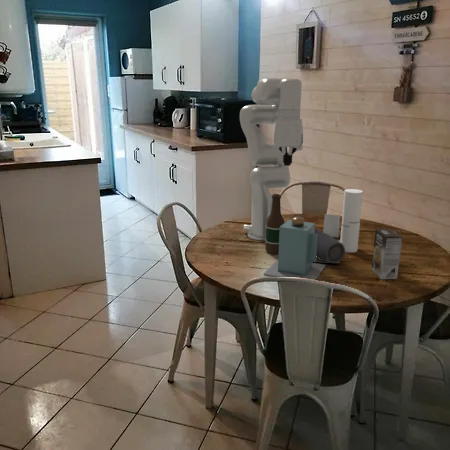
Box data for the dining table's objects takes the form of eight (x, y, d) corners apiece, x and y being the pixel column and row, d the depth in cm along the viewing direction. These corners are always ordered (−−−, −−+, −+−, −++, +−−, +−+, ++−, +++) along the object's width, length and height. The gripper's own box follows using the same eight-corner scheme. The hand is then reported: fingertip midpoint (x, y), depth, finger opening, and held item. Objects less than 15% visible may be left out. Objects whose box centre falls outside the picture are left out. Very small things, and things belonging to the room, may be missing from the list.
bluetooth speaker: (295, 248, 194) (296, 225, 191) (314, 245, 197) (316, 223, 194) (324, 267, 173) (326, 242, 170) (345, 264, 176) (347, 239, 173)
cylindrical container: (357, 252, 188) (363, 193, 181) (340, 251, 190) (344, 192, 182) (356, 247, 195) (362, 189, 188) (339, 245, 196) (344, 188, 189)
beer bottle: (271, 255, 185) (273, 197, 178) (261, 249, 191) (262, 193, 184) (287, 252, 188) (290, 195, 181) (276, 247, 195) (279, 191, 188)
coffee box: (370, 269, 171) (374, 228, 167) (387, 269, 172) (391, 228, 167) (380, 279, 163) (385, 236, 158) (398, 279, 163) (403, 235, 158)
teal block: (263, 274, 166) (265, 228, 161) (280, 258, 182) (281, 215, 177) (312, 284, 159) (315, 235, 154) (325, 266, 174) (328, 221, 169)
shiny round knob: (283, 261, 167) (285, 219, 163) (289, 255, 174) (291, 214, 169) (302, 265, 164) (304, 222, 160) (308, 258, 171) (310, 216, 166)
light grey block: (338, 237, 207) (340, 216, 205) (323, 236, 209) (324, 215, 206) (338, 234, 211) (339, 213, 208) (323, 234, 212) (324, 213, 209)
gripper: (266, 114, 166) (265, 165, 171) (306, 116, 160) (304, 168, 165) (273, 113, 172) (272, 162, 178) (312, 114, 166) (309, 165, 171)
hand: (287, 165), depth 171 cm, fingers closed
